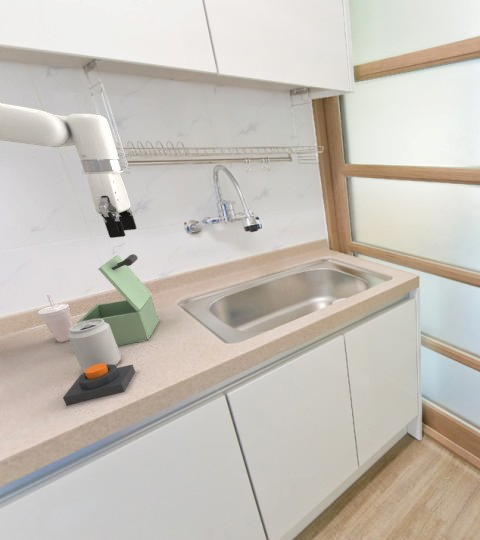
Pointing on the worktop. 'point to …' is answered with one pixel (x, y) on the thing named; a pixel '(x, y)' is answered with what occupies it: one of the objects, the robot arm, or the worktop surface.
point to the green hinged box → (126, 320)
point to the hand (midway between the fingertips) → (124, 233)
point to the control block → (100, 385)
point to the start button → (96, 371)
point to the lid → (126, 280)
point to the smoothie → (57, 320)
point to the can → (93, 343)
